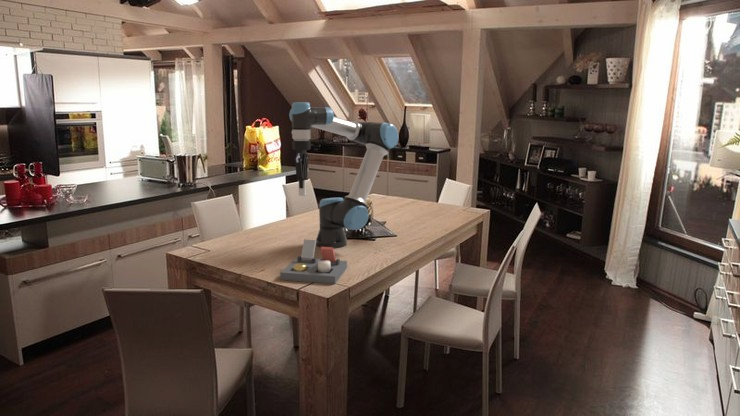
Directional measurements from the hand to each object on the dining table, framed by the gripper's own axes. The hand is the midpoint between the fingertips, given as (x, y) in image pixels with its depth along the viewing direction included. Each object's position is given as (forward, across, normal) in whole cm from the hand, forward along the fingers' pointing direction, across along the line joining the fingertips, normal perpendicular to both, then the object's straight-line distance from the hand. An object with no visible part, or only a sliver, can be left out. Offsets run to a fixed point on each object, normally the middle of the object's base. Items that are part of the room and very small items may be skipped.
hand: (302, 195), depth 214 cm
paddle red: (+25, +10, +15) cm, 31 cm away
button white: (+26, +19, +15) cm, 36 cm away
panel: (+29, +15, +10) cm, 34 cm away
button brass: (+28, +19, +5) cm, 34 cm away
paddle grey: (+25, +10, +5) cm, 28 cm away
